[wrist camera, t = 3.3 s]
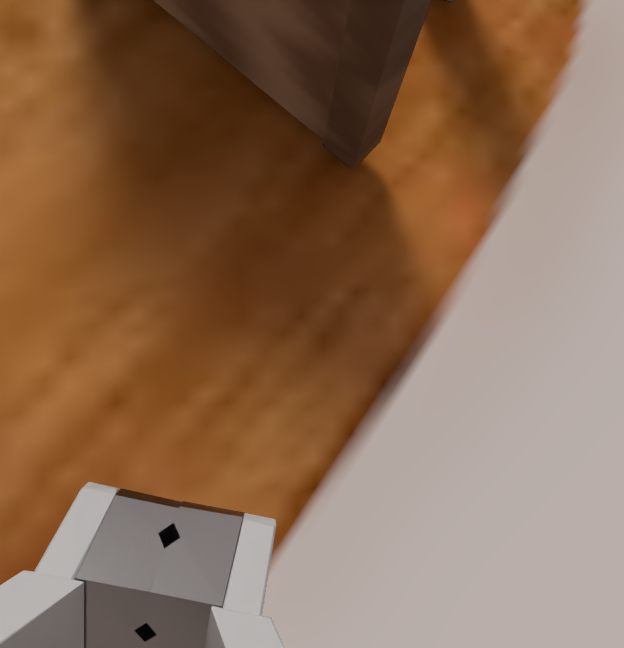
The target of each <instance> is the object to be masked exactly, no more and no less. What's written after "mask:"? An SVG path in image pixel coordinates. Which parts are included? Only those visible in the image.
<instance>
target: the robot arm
mask: <svg viewBox="0 0 624 648" xmlns="http://www.w3.org/2000/svg"><path fill="white" fill-rule="evenodd" d="M243 516H244V518H243ZM242 521H243V522H242ZM241 526H242V527H241ZM275 530H276V519H272V518H267V517H262V516H257V515H251V514H246V513H245V515H244V512H239V511H233V510H228V509H222V508H217V507H212V506H206V505H201V504H195V503H190V502H185V501H183V502H179V501H175V500H170V499H166V498H162V497H157V496H153V495H148V494H144V493H139V492H135V491H131V490H126V489H122V488H116V487H111V486H107V485H102V484H97V483H93V482H88V483H87V484H86V485H85V486H84V487H83V488H82V489H81V490H80V492H79V493H78V495H77V497H76V499H75V500H74V502H73V504H72V506H71V507H70V509H69V511H68V513H67V514H66V516H65V518H64V520H63V522H62V523H61V525H60V527H59V529H58V530H57V532H56V534H55V536H54V537H53V539H52V541H51V543H50V544H49V546H48V548H47V550H46V552H45V553H44V555H43V557H42V559H41V560H40V562H39V564H38V566H37V567H36V569H35V571H34V572H33V571H27V570H23V571H22V572H20V573H18V574H17V575H15V576H14V577H12V578H11V579H9V580H8V581H6V582H4V583H3V584H1V585H0V648H284V645H283V643H282V641H281V638H280V636H279V634H278V632H277V630H276V627H275V625H274V623H273V621H272V618H270V617H265V616H262V610H263V604H264V598H265V591H266V585H267V579H268V573H269V567H270V561H271V554H272V548H273V542H274V536H275ZM240 531H241V532H240Z"/></svg>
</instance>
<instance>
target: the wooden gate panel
mask: <svg viewBox="0 0 624 648" xmlns="http://www.w3.org/2000/svg"><path fill="white" fill-rule="evenodd" d="M153 1H155V2H156V3H157V4H158V5H159V6H161V7H162V8H163V9H164V10H165V11H167V12H168V13H169V14H170V15H172V16H173V17H174V18H175V19H176V20H178V21H179V22H180V23H181V24H182V25H184V26H185V27H186V28H187V29H189V30H190V31H191V32H192V33H193V34H195V35H196V36H197V37H198V38H199V39H201V40H202V41H203V42H204V43H206V44H207V45H208V46H209V47H210V48H212V49H213V50H214V51H215V52H216V53H218V54H219V55H220V56H221V57H223V58H224V59H225V60H226V61H227V62H229V63H230V64H231V65H232V66H233V67H235V68H236V69H237V70H238V71H240V72H241V73H242V74H243V75H244V76H246V77H247V78H248V79H249V80H250V81H252V82H253V83H254V84H255V85H256V86H258V87H259V88H260V89H261V90H263V91H264V92H265V93H266V94H267V95H269V96H270V97H271V98H272V99H273V100H275V101H276V102H277V103H278V104H280V105H281V106H282V107H283V108H284V109H286V110H287V111H288V112H289V113H290V114H292V115H293V116H294V117H295V118H297V119H298V120H299V121H300V122H301V123H303V124H304V125H305V126H306V127H307V128H309V129H310V130H311V131H312V132H314V133H315V134H316V135H317V136H318V137H320V138H321V139H322V140H323V141H324V144H323V146H324V147H325V148H327V149H328V150H329V151H330V152H332V153H333V154H334V155H335V156H336V157H338V158H339V159H340V160H341V161H342V162H344V163H345V164H346V165H347V166H349V167H350V168H351V169H352V170H353V169H354V168H355V167H356V166H357V165H358V164H359V163H360V162H361V161H362V160H363V159H364V158H365V157H366V156H367V155H368V154H369V153H370V152H371V151H372V150H373V149H374V148H375V147H376V146H377V145H378V144H379V143H380V141H381V139H382V136H383V133H384V130H385V128H386V125H387V122H388V119H389V116H390V114H391V111H392V108H393V105H394V103H395V100H396V97H397V94H398V92H399V89H400V86H401V83H402V80H403V78H404V75H405V72H406V69H407V67H408V64H409V61H410V58H411V56H412V53H413V50H414V47H415V45H416V42H417V39H418V36H419V33H420V31H421V28H422V25H423V22H424V20H425V17H426V14H427V11H428V9H429V6H430V3H431V0H153Z"/></svg>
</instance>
